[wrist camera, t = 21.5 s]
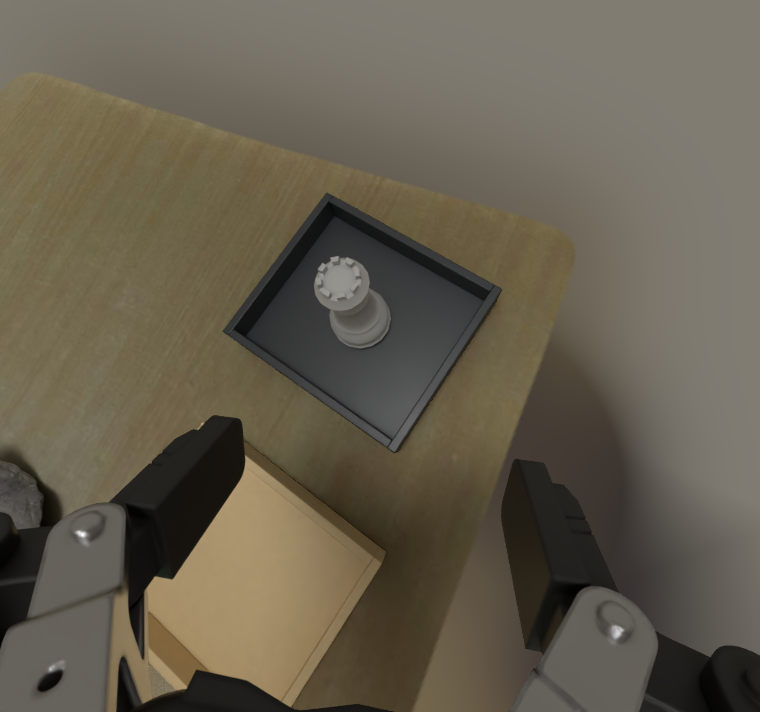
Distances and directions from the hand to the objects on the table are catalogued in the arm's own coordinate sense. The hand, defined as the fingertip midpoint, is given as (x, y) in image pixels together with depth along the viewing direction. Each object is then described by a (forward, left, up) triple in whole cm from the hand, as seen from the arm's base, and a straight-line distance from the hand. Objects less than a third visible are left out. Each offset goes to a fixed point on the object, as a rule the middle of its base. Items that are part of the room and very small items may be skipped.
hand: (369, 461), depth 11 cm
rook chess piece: (+8, -6, -16) cm, 19 cm away
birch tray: (+5, +13, -16) cm, 21 cm away
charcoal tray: (+8, -6, -16) cm, 19 cm away
